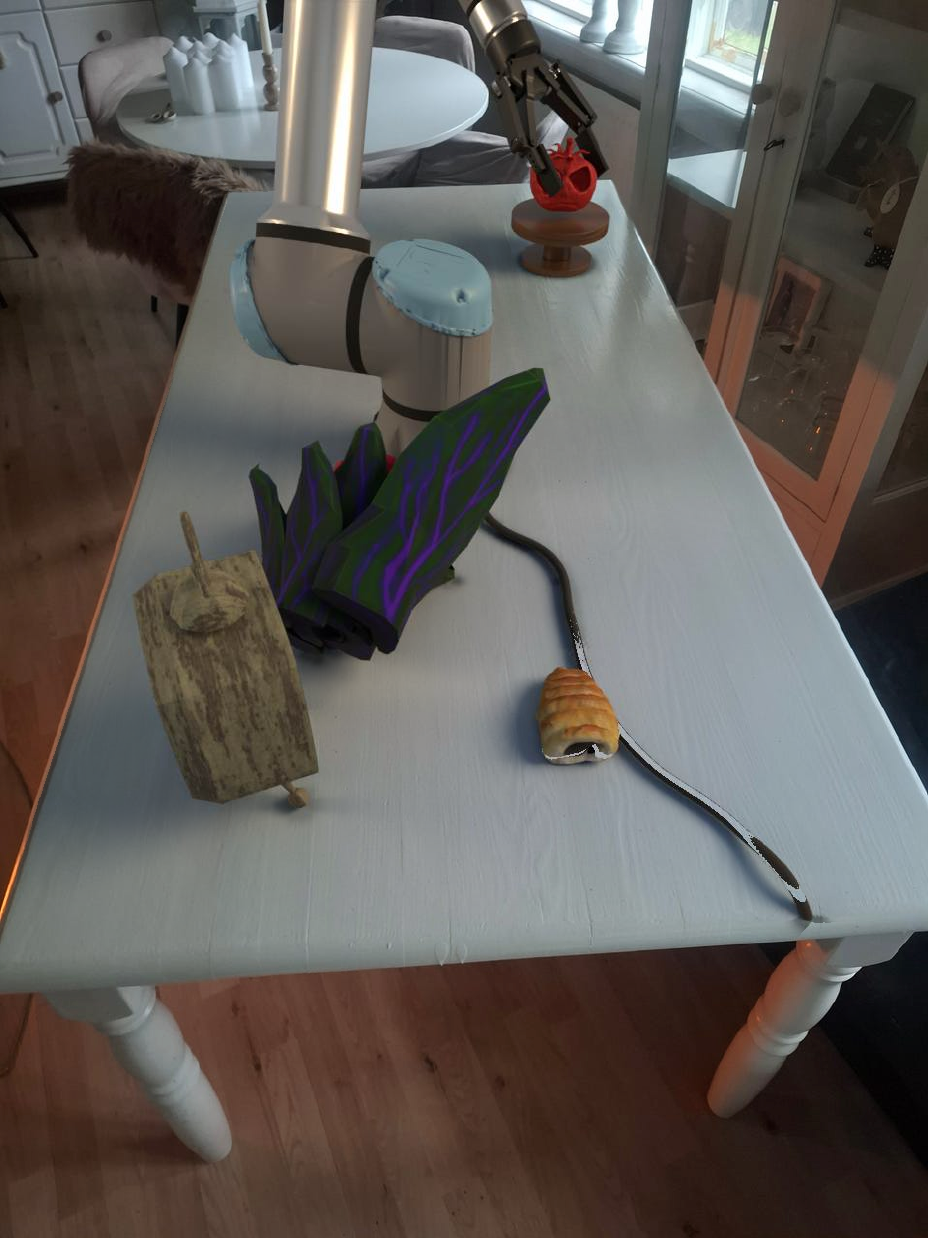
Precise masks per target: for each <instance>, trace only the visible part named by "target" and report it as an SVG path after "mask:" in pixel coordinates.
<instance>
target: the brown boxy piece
mask: <svg viewBox="0 0 928 1238" xmlns="http://www.w3.org/2000/svg"><path fill="white" fill-rule="evenodd" d="M179 521H180V525H181V530H182V534H183V537H184V539H185V543H186V546H187V549H188V553H189V556H190V559H191V563H190V565H188V566H184V567H180V568H176V569H172V570H168V571H164V572H160V573H155V574H154V575H152V576H151V578H150V579H148V581H147V582H145V583H144V584H143V585H142V586H141V587H140V588H139V589H138V590H137V591H136V592H135V593H134V594H132V600H133V601H132V602H133V607H134V612H135V618H136V622H137V627H138V633H139V638H140V643H141V648H142V652H143V656H144V661H145V666H146V670H147V674H148V679H149V684H150V689H151V693H152V696H153V700H154V703H155V707H156V710H157V713H158V716H159V719H160V723H161V724H162V725H161V726H162V727H163V731H164V732H165V735H166V738H167V741H168V743H169V746H170V748H171V751H172V753H173V756H174V758H175V762H176V763H177V767H178V769H179V770H180V771H179V772H180V773H181V776H182V778H183V780H184V782H185V785H186V788H187V790H188V793H189V794H190V796H191V797H192V799H195V800H200V801H205V802H209V803H216V804H220V805H224V804H227V803H229V802H233V801H236V800H239V799H241V798H245V797H248V796H250V795H254V794H257V793H260V792H262V791H266V790H269V789H273V788H275V787H279V786H282V787H283V789H285V790H286V791H287V792H288V793H289V794H288V803H289V804H290V805H291V806H292V807H293V808H295V809H302V808H304V807H306V806H307V804H308V803H309V802H310V794H309V792H308V791H307V790H306V789H305V788H304V787H298V786H297V787H295V786H294V785H293V781H297V780H301V779H304V778H307V777H309V776H313V775H315V774H318V773H319V769H320V767H319V763H318V756H317V750H316V745H315V744H316V743H315V739H314V738H315V737H314V734H313V729H312V724H311V720H310V714H309V711H308V705H307V701H306V696H305V692H304V688H303V684H302V679H301V676H300V675H301V674H300V672H299V667H298V664H297V661H296V657H295V655H294V651H293V648H292V646H291V645H290V642H289V639H288V636H287V633H286V630H285V627H284V625H283V622H282V619H281V616H280V613H279V610H278V608H277V605H276V602H275V599H274V596H273V594H272V591H271V588H270V586H269V583H268V580H267V578H266V575H265V572H264V570H263V567H262V561H261V560H260V557H259V555H258V553H257V551H256V549H253V550H248V551H245V552H244V551H243V552H240V553H236V554H232V555H227V556H224V557H221V558H216V559H212V560H208V561H206V560H205V559H204V558H203V555H202V551H201V549H200V543H199V540H198V537H197V534H196V530H195V526H194V524H193V521H192V518H191V516H190V513H189V512H188V511H187V510H182V511H181V512H180V513H179Z"/></svg>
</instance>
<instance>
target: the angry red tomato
mask: <svg viewBox="0 0 928 1238" xmlns="http://www.w3.org/2000/svg"><path fill="white" fill-rule="evenodd" d="M574 142H575V138H574V137H566V144H565V145H566V146H565V150H563V148H562V146H561V144H560V143H559V142H555V143H553V144H552V146H556V148H557V150H555V149H553V148H546V151H547V152H549V153H548V155H549V157H550V159H551V161H552V163H553V165H554V167H555V169H556V171H557V173H558V175H559V177H560V179H561V181H562V183H563V185H564V187H563V188H562V189H561V190H560V191H559V192H558V193H556V194H555V195H554V196H553V197H551V198H549V196H548V194H547V192H546V190H545V188H544V186H543V184H542V182H541V180H540V178H539V176H538V175H536V173H535V172H534V171H533V168H532V167H531V166H530V169H529V189H530V192H531V195H532V196H533V198H535V200H536V201H537V203H538V204H539V205H540V206H541V207H542V208H544V209H546V210H549V211H557V212H558V211H561V212H573V211H577V210H579V209H582V208H584V207H585V206H586V205H587V204H588V203H589V202H590V201H591V202H592V199H593V196H594V193H595V191H596V189H597V182H598V179H597V173H596V170H595V168H594V167H593V165H592V164H591V163H590V162H588V161H586V160H585V159H584V158H583V156H582V155H581V153H585V154H589V153H590V152H586V151H584V150H579V149H578V150H577V151H575V152H574V153H573V151H574V149H575V147H578V146H577V144H578V143H577V144H574ZM580 155H581V156H580Z"/></svg>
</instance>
